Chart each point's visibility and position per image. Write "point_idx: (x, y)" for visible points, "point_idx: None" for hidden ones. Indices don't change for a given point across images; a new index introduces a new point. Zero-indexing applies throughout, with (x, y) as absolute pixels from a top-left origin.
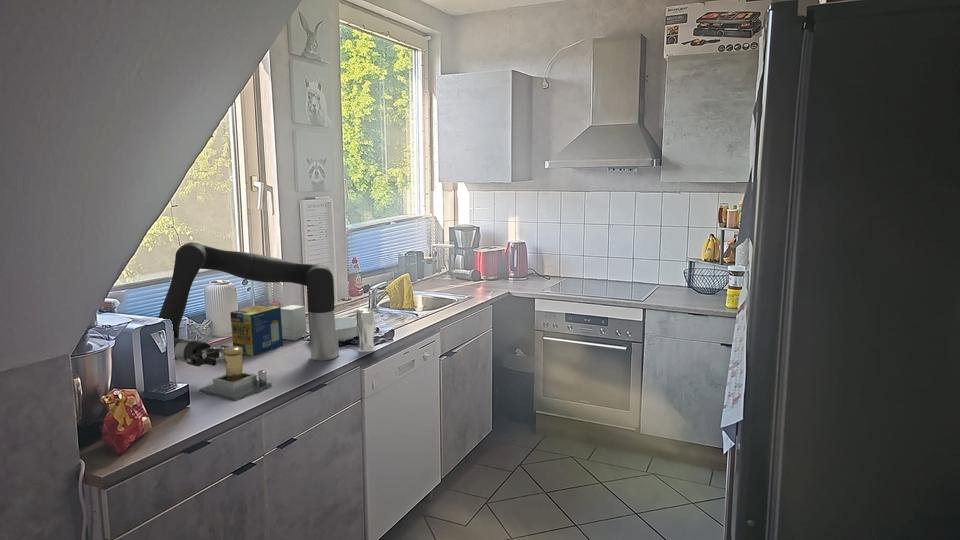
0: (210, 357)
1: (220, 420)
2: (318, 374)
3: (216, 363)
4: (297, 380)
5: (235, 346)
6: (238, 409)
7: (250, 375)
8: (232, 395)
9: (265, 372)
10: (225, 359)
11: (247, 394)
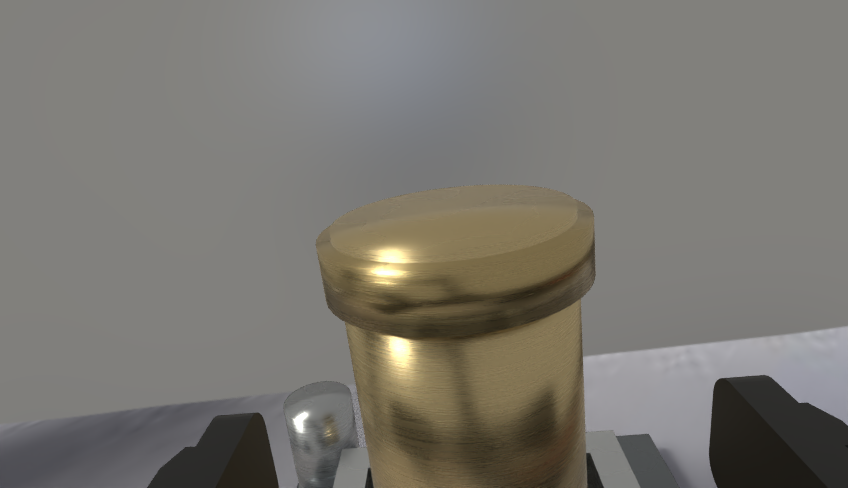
0: (819, 474)
1: (813, 334)
2: (38, 429)
3: (714, 443)
4: (163, 442)
5: (352, 237)
6: (684, 365)
7: (367, 483)
8: (643, 470)
9: (319, 386)
10: (581, 348)
11: None
